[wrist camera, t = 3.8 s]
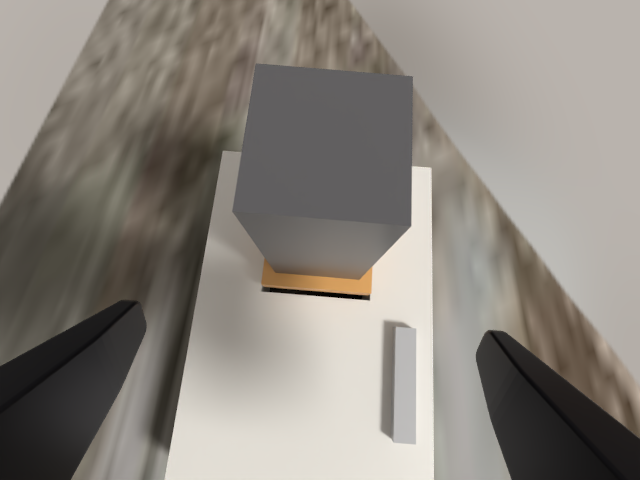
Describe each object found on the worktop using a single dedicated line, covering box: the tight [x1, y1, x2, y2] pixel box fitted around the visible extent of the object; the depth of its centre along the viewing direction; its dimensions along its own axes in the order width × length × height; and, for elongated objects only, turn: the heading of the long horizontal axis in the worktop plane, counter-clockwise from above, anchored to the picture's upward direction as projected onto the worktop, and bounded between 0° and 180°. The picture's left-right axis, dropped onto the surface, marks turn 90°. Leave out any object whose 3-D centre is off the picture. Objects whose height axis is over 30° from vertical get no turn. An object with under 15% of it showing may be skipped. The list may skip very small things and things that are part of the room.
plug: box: [232, 64, 413, 295], centre depth 14 cm, size 5×5×13 cm
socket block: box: [165, 151, 434, 480], centre depth 18 cm, size 17×12×4 cm
